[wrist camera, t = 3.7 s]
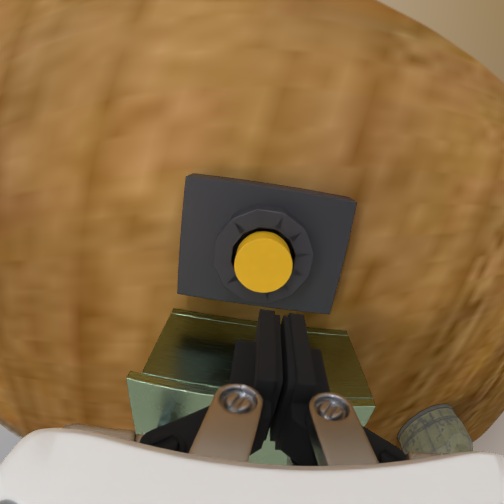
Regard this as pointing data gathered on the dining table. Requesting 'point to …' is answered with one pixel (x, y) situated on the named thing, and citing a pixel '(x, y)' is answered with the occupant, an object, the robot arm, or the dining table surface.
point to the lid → (197, 408)
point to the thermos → (435, 432)
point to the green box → (222, 350)
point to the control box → (254, 220)
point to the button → (263, 262)
